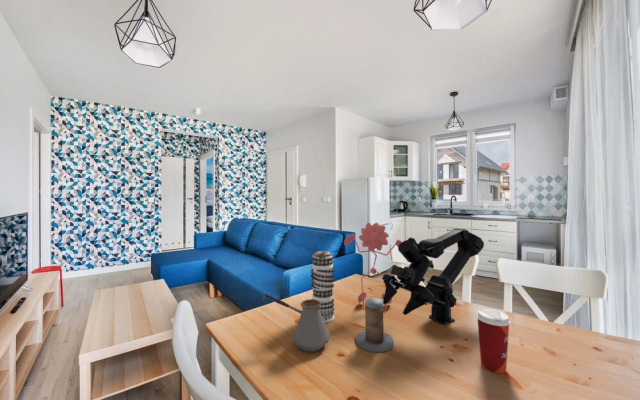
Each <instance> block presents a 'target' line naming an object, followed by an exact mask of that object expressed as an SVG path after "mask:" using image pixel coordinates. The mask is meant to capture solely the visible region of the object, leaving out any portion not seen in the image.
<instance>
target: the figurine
mask: <svg viewBox="0 0 640 400" xmlns="http://www.w3.org/2000/svg"><path fill="white" fill-rule="evenodd" d="M360 230H361V235H359V236H358V239H359V240H360V241H361V242H362V243H361V246H362V247H363V248H367V249H368V250H362V251H361V250H360V248H359V245H358V242H357V239H356V236H355V233H352V234H349V235H348V236H347V237H345V239H344V241H343V244H344V246H346V245H349V244H351V243H352V242H353V241H354V242H355V245H356V248H357V252H359V253H368V252H372V253H373V254H374V256H375V257H374V261H373V265H372V267H371V268H370V270H369V271H368V272H367V273H365V275H363V276H362V277H360V283H361V291H362V292H361V293H360V294H359V295H358V296H357V301H358V303H359V304H361V303H362V309H365V300H366V298H367V297H368V295H367V292H366V291H364V286H363V278H364V277H366V276H367V275H369V274H370V273H371V274H372V275H375V274H376V273H377V274H379V275H380V276H382V277H383V276H384V275H383V274H382V273H381V272H378V271H377V268H376V267H375V264H376V262H377V261H376V260H377V257H378V255H377V254H380V255H383V256H386V257H388V256H389V254H390V253H391V252H392V251H393V249H394V248H395V246H396V247H397V248H398V246H399V244H400V243H402V242H403V241H402V240H400V239H397V240H396V241H395V242H394V244H393V246H392V247H391V248H390V249H389V250H388V252H387V253H383V252H380V251H382V249H383V246H388V244H389V241H388V239H387V238H389V233H387V232H385V231H386V226H385V225H379V223H378V222H375V223H373V224H371V223H370V222H367V223H366V224H365V227H364V228H361V229H360ZM384 295H385V292H384V293H382V295H381V297H380V298H379V299H381V300H382V301H383V300H384ZM392 299H393V298H392ZM392 299H391V300H390V301H389V302H388V303H387V304H386V305H384V306H385V307H384V308H385V311H387V310H388V307H387V305H390V304H391V303H392V301H393V300H392Z"/></svg>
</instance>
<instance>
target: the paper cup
mask: <svg viewBox="0 0 640 400" xmlns="http://www.w3.org/2000/svg"><path fill="white" fill-rule="evenodd" d="M475 317H476V318H477V329H478V342H479V345H478V346H479V354H480V355H479V357H480V365H481V366H482V367H483V368H484V369H485V370H487V371H488V372H492V373H495V374H504V373H506V370H507V364H508V361H507V360H508V348H509V347H508V346H509V335H510V334H509V330H510V325H511V320H510V318H509V316H508V315H507V314H506V313H504V312H502V311H500V310H499V311H498V310H495V309H488V308H484V309H479V310H478V311H477V314H476V315H475Z"/></svg>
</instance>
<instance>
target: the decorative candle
mask: <svg viewBox="0 0 640 400" xmlns="http://www.w3.org/2000/svg"><path fill="white" fill-rule="evenodd" d="M311 257H312V264H311V266H312V267H311V268H312V269H311V270H310V273H311V274H310V277H311V285H310V286H311V288H312V299H315V300H318V301H320V302H321V306H320V308H319V310H320V313H321V315H322V317H323V320H324V322H325V324H327V323H330V322H332V321H333V320H335V312H334V311H335V308H334V306H335V299H334V293H333V291H334V287H335V284H334V282H335V279H334V278H335V274H333V273H334V272H335V270H336V269H335V266H334V263H333V257H334V255H333V254H332V253H331V252H330V251H327V250H319V251H315V252H314V254H312V255H311Z"/></svg>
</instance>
